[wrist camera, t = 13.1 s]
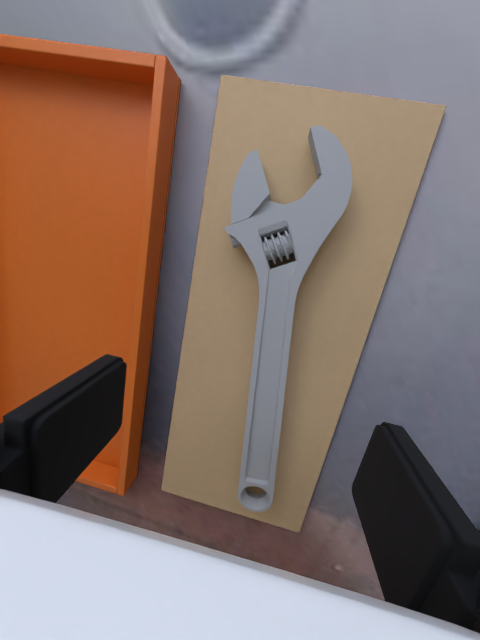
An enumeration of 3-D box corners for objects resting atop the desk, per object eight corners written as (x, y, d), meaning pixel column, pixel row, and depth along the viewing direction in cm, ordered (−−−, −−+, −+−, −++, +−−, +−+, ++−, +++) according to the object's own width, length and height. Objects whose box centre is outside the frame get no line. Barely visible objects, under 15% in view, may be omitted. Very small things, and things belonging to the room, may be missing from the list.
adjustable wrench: (272, 498, 21) (271, 519, 20) (196, 477, 22) (188, 496, 20) (356, 148, 15) (366, 134, 13) (242, 135, 15) (236, 121, 14)
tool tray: (-5, 432, 25) (-30, 448, 23) (-31, 50, 17) (-72, 23, 15) (137, 476, 23) (123, 496, 21) (181, 80, 15) (166, 55, 13)
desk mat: (162, 487, 23) (161, 490, 23) (222, 77, 15) (221, 74, 15) (299, 529, 22) (299, 533, 22) (443, 108, 14) (447, 105, 14)
